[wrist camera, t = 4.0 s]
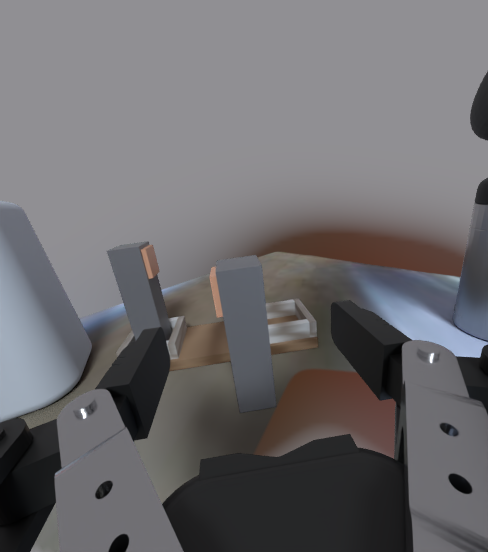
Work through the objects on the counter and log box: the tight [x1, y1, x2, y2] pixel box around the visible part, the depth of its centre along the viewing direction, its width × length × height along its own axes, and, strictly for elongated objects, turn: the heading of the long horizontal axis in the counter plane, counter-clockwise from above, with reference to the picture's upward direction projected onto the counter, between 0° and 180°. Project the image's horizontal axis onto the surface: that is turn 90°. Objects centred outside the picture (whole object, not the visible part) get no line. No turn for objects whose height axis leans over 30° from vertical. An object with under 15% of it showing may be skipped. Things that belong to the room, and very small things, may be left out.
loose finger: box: [210, 255, 276, 413], centre depth 24 cm, size 5×4×16 cm
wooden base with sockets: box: [116, 299, 318, 371], centre depth 36 cm, size 28×9×4 cm, turn 95°
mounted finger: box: [107, 242, 172, 341], centre depth 33 cm, size 5×4×16 cm
